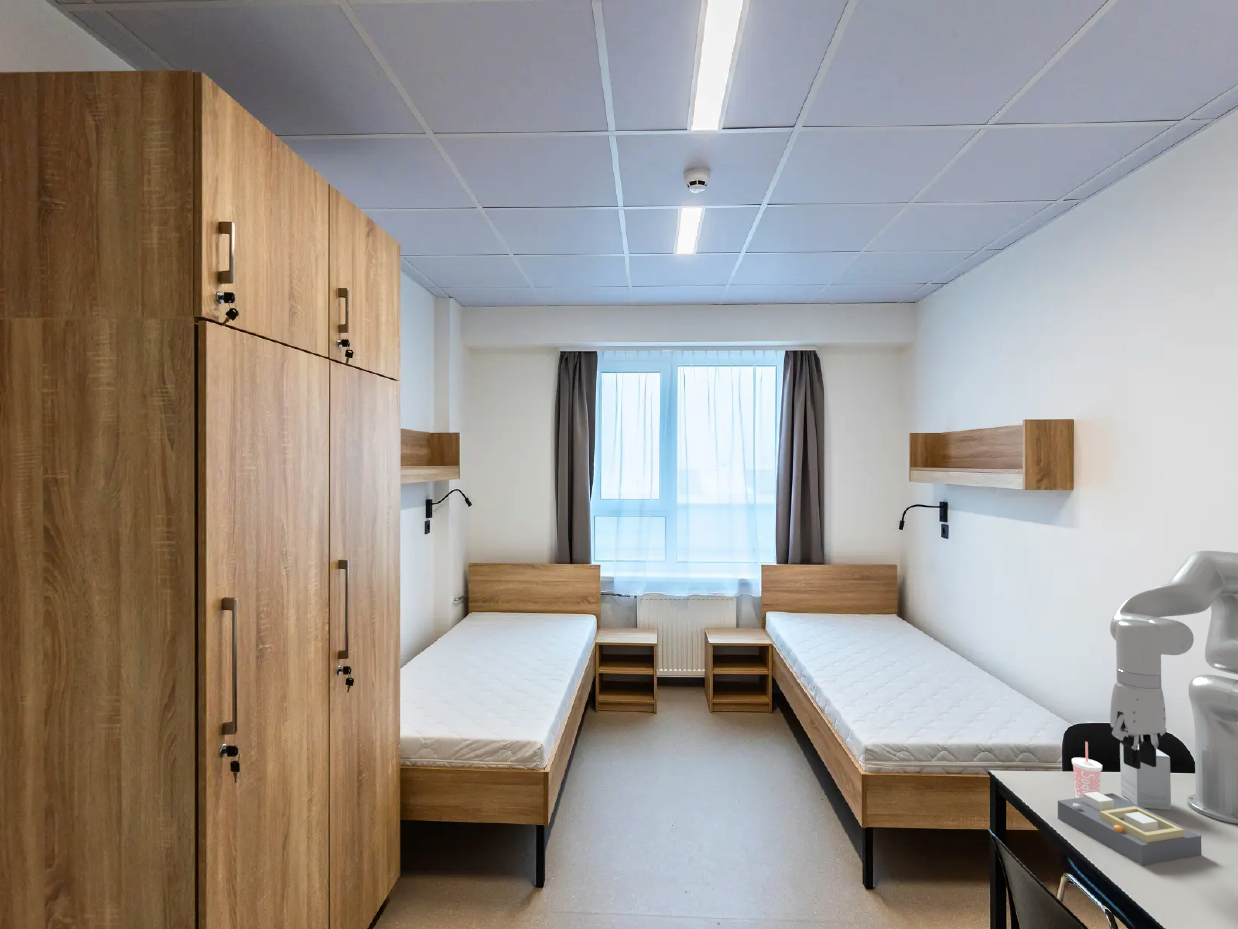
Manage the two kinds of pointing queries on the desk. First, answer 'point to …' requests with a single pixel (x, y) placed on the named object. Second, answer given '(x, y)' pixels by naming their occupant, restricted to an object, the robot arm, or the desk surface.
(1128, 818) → the block
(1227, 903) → the desk surface
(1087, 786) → the beverage cup
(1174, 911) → the desk surface
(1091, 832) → the gray panel board
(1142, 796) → the supplement box
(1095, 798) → the block
